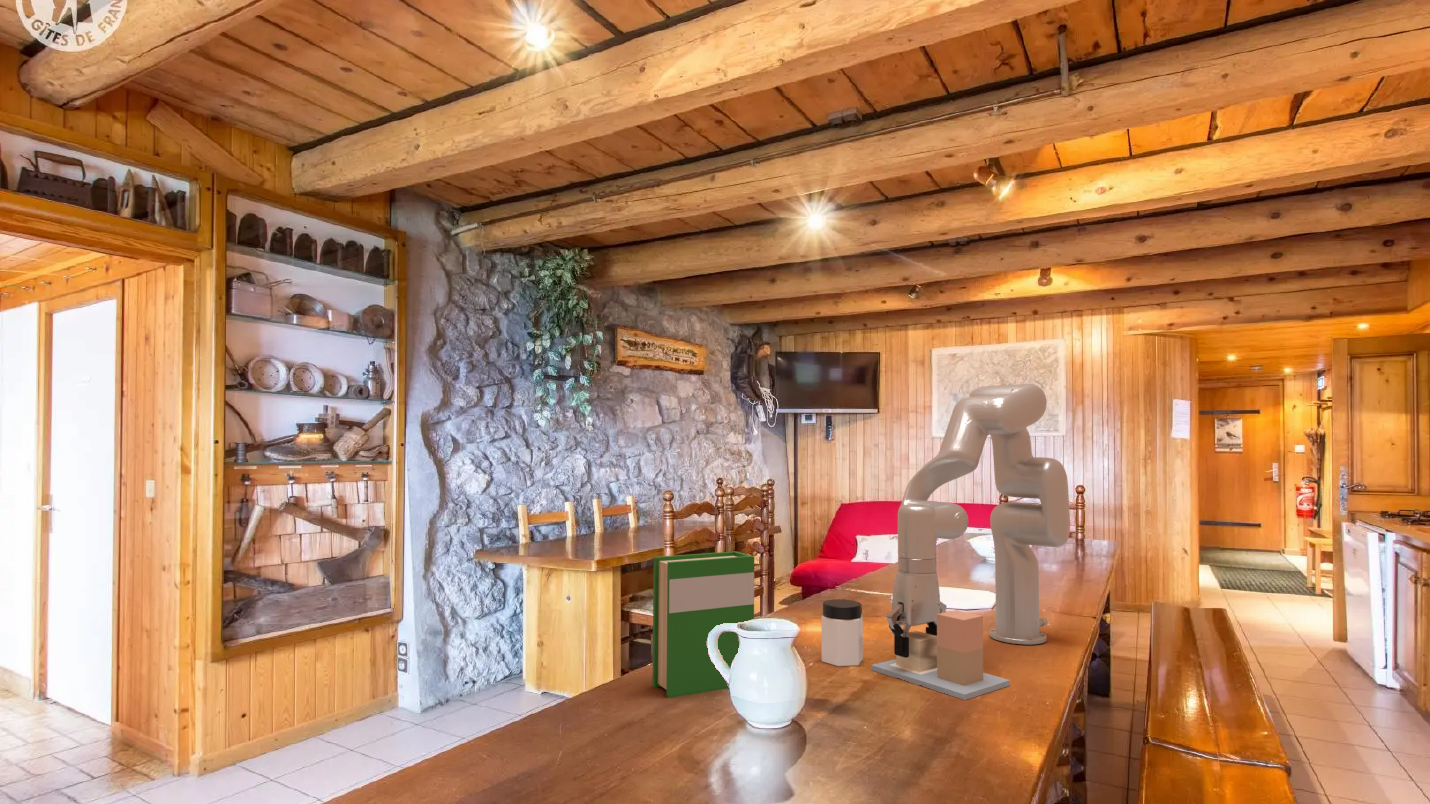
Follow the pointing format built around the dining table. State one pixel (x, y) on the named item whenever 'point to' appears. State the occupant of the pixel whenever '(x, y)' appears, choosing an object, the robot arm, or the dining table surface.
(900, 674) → the board
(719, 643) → the hardback book
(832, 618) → the jar
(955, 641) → the terracotta block
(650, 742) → the dining table surface
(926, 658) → the birch block
